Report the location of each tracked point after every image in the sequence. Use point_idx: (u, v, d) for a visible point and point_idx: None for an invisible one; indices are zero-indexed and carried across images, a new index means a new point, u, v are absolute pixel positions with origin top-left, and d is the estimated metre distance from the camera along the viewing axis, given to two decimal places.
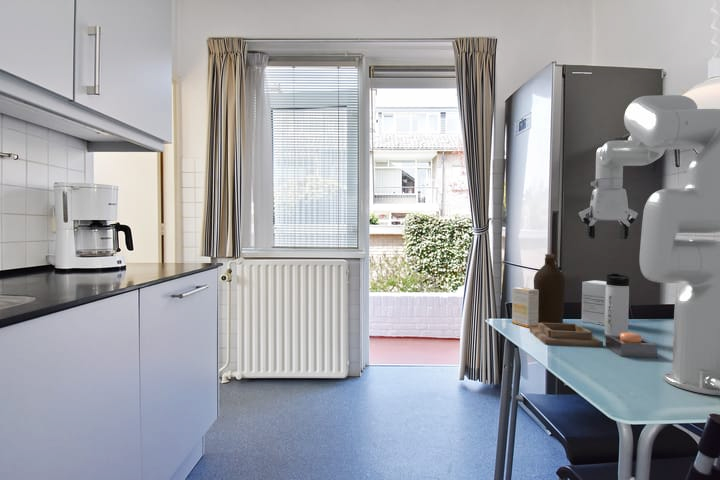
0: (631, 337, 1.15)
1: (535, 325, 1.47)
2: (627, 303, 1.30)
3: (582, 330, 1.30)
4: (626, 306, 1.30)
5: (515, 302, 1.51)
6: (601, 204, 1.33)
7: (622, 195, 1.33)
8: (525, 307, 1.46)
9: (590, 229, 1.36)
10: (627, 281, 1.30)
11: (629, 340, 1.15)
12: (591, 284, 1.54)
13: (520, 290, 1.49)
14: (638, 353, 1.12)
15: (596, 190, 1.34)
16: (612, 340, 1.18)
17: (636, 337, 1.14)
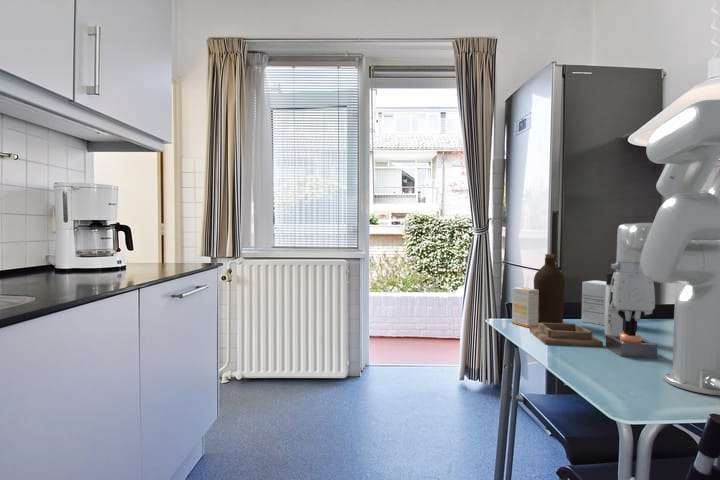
0: (631, 337, 1.15)
1: (535, 325, 1.47)
2: None
3: (582, 330, 1.30)
4: None
5: (515, 302, 1.51)
6: (623, 292, 1.15)
7: (649, 283, 1.14)
8: (525, 307, 1.46)
9: (626, 324, 1.17)
10: None
11: (629, 341, 1.15)
12: (591, 284, 1.54)
13: (520, 290, 1.49)
14: (638, 353, 1.12)
15: (617, 275, 1.16)
16: (612, 340, 1.18)
17: (636, 337, 1.14)
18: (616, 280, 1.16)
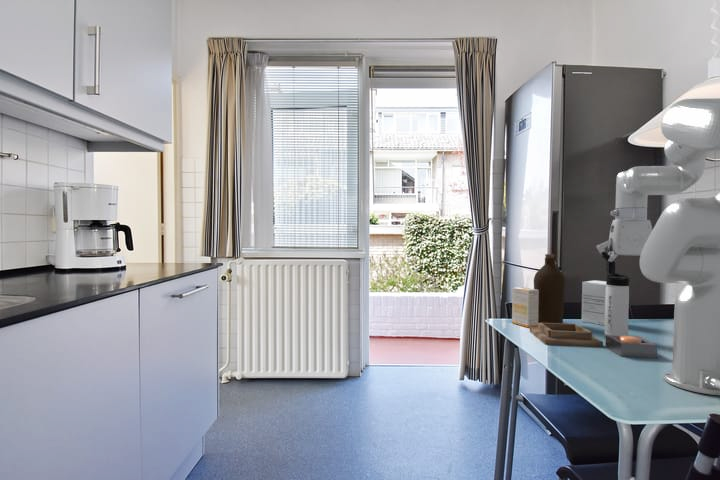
0: (631, 341, 1.15)
1: (535, 325, 1.47)
2: (627, 303, 1.30)
3: (582, 330, 1.30)
4: (626, 306, 1.30)
5: (515, 302, 1.51)
6: (623, 237, 1.17)
7: (647, 227, 1.16)
8: (525, 307, 1.46)
9: (610, 265, 1.19)
10: (627, 281, 1.30)
11: None
12: (591, 284, 1.54)
13: (520, 290, 1.49)
14: (638, 353, 1.12)
15: (617, 221, 1.18)
16: (612, 340, 1.18)
17: (636, 340, 1.14)
18: (615, 226, 1.18)
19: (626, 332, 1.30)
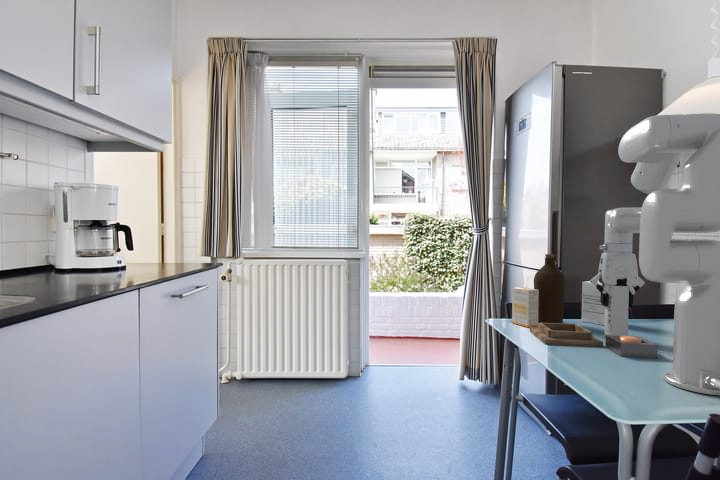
0: (631, 341, 1.15)
1: (535, 325, 1.47)
2: (627, 303, 1.30)
3: (582, 330, 1.30)
4: (626, 306, 1.30)
5: (515, 302, 1.51)
6: (610, 269, 1.31)
7: (632, 261, 1.30)
8: (525, 307, 1.46)
9: (604, 297, 1.33)
10: None
11: None
12: (591, 284, 1.54)
13: (520, 290, 1.49)
14: (638, 353, 1.12)
15: (605, 255, 1.32)
16: (612, 340, 1.18)
17: (636, 340, 1.14)
18: (604, 259, 1.32)
19: (626, 332, 1.30)
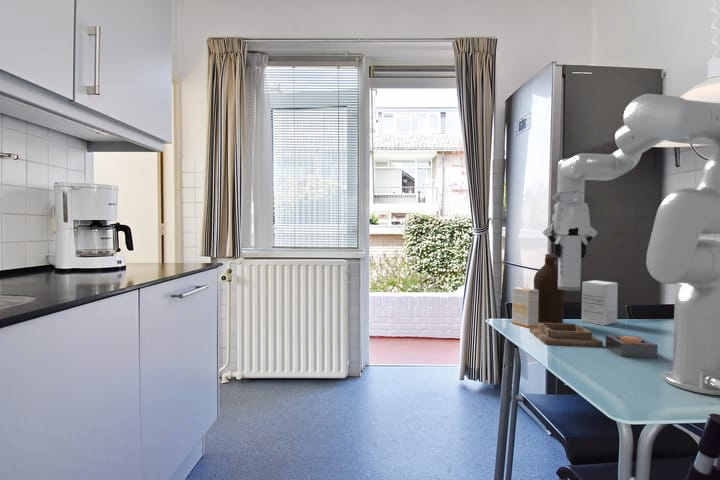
0: (631, 341, 1.15)
1: (535, 325, 1.47)
2: (579, 253, 1.28)
3: (582, 330, 1.30)
4: (578, 256, 1.28)
5: (515, 302, 1.51)
6: (562, 219, 1.28)
7: (584, 210, 1.28)
8: (525, 307, 1.46)
9: (556, 247, 1.31)
10: None
11: None
12: (591, 284, 1.54)
13: (520, 290, 1.49)
14: (638, 353, 1.12)
15: (557, 204, 1.30)
16: (612, 340, 1.18)
17: (636, 340, 1.14)
18: (556, 209, 1.30)
19: (578, 283, 1.28)
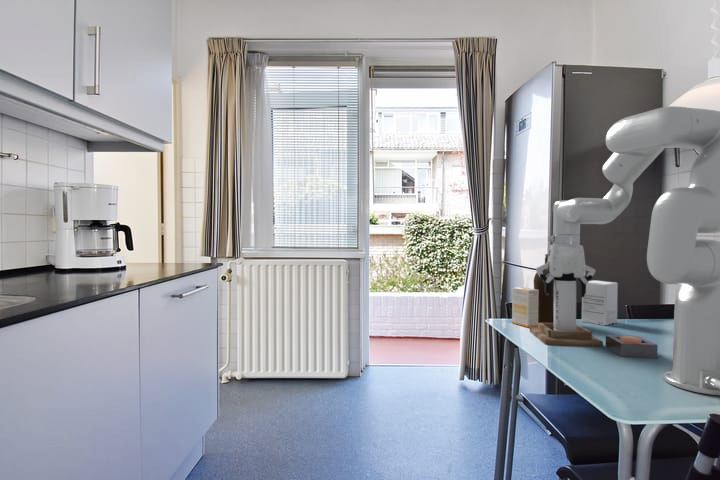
0: (631, 341, 1.15)
1: (535, 325, 1.47)
2: (574, 298, 1.28)
3: (582, 330, 1.30)
4: (573, 301, 1.28)
5: (515, 302, 1.51)
6: (557, 261, 1.29)
7: (579, 252, 1.28)
8: (525, 307, 1.46)
9: (547, 286, 1.31)
10: None
11: None
12: (591, 284, 1.54)
13: (520, 290, 1.49)
14: (638, 353, 1.12)
15: (553, 246, 1.30)
16: (612, 340, 1.18)
17: (636, 340, 1.14)
18: (551, 251, 1.30)
19: (574, 328, 1.28)
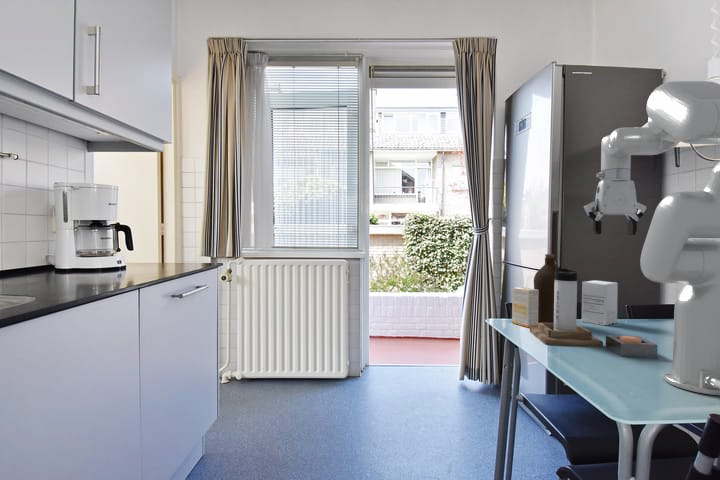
0: (631, 341, 1.15)
1: (535, 325, 1.47)
2: (575, 298, 1.28)
3: (582, 330, 1.30)
4: (573, 301, 1.28)
5: (515, 302, 1.51)
6: (608, 197, 1.23)
7: (631, 188, 1.23)
8: (525, 307, 1.46)
9: (596, 224, 1.25)
10: (574, 276, 1.28)
11: None
12: (591, 284, 1.54)
13: (520, 290, 1.49)
14: (638, 353, 1.12)
15: (602, 182, 1.24)
16: (612, 340, 1.18)
17: (636, 340, 1.14)
18: (601, 187, 1.24)
19: (574, 328, 1.28)
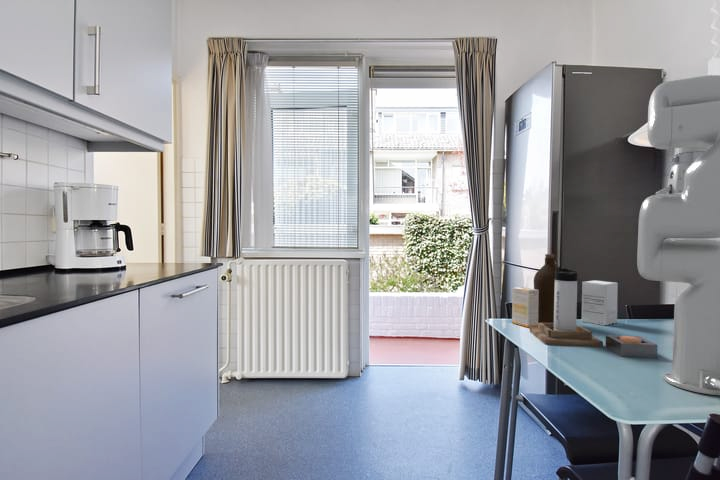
0: (631, 341, 1.15)
1: (535, 325, 1.47)
2: (575, 298, 1.28)
3: (582, 330, 1.30)
4: (574, 302, 1.28)
5: (515, 302, 1.51)
6: (684, 182, 1.17)
7: None
8: (525, 307, 1.46)
9: None
10: (575, 276, 1.28)
11: None
12: (591, 284, 1.54)
13: (520, 290, 1.49)
14: (638, 353, 1.12)
15: (677, 166, 1.18)
16: (612, 340, 1.18)
17: (636, 340, 1.14)
18: (676, 171, 1.18)
19: (574, 328, 1.28)
